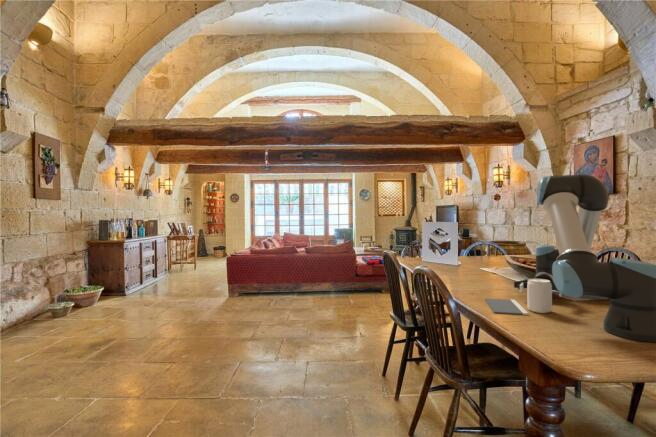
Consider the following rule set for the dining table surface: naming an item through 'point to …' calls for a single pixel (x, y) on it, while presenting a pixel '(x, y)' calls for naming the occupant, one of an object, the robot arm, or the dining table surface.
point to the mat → (505, 306)
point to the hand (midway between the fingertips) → (539, 291)
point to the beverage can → (539, 295)
